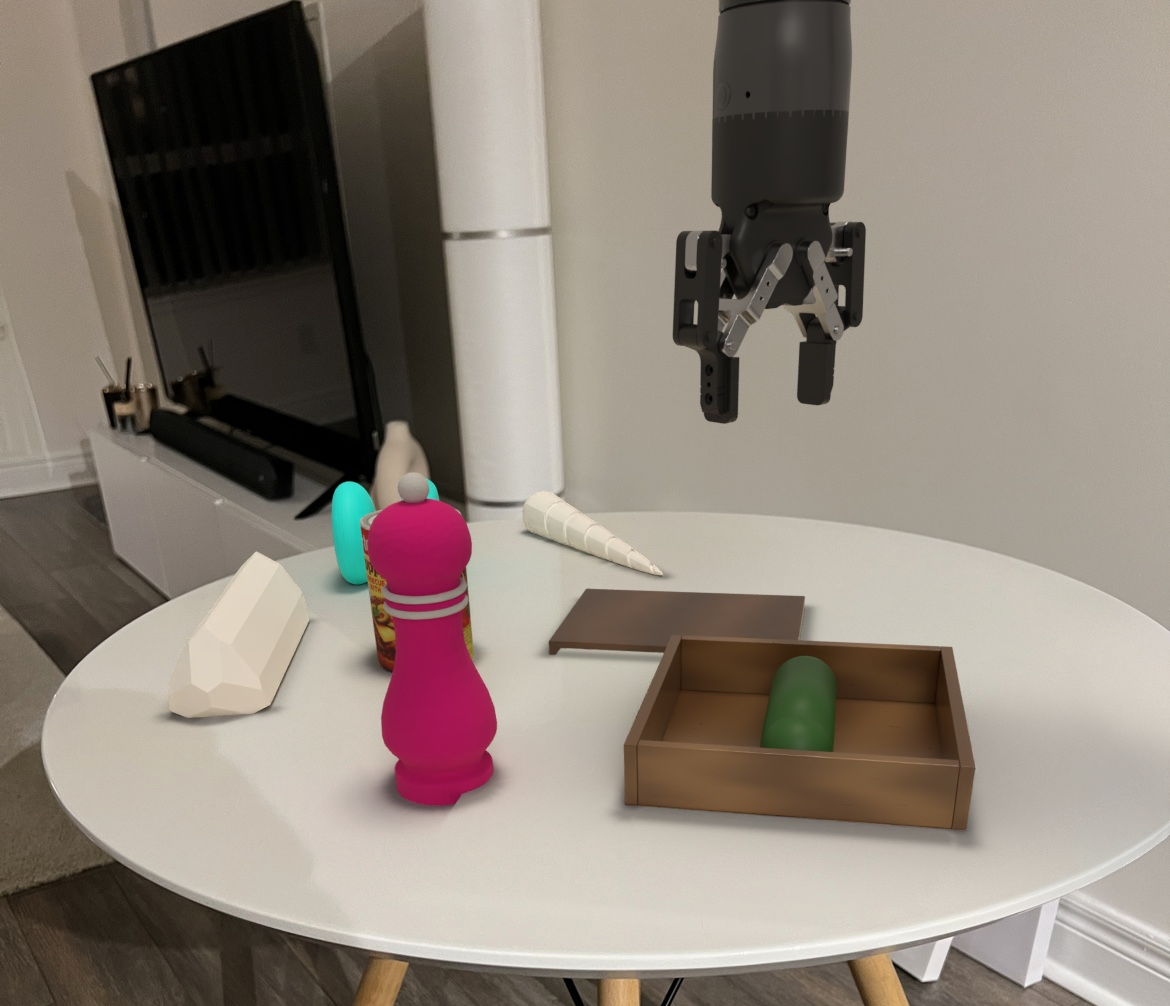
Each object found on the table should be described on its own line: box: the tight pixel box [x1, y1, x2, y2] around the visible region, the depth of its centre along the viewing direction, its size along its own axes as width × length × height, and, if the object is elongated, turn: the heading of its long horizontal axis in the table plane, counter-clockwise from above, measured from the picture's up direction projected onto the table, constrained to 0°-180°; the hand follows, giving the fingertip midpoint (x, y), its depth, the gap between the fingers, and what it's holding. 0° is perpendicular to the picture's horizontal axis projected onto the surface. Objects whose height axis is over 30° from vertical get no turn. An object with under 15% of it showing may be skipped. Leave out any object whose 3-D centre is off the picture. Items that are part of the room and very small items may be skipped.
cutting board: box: [548, 588, 806, 656], centre depth 94 cm, size 20×14×2 cm
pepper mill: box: [367, 471, 498, 807], centre depth 66 cm, size 7×7×20 cm
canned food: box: [360, 508, 475, 674], centre depth 88 cm, size 8×8×12 cm
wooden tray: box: [623, 635, 976, 832], centre depth 71 cm, size 20×19×5 cm
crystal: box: [167, 550, 311, 719], centre depth 90 cm, size 7×7×24 cm
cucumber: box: [760, 656, 837, 752], centre depth 71 cm, size 14×4×4 cm, turn 167°
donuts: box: [331, 478, 440, 586], centre depth 109 cm, size 10×10×10 cm
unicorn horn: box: [521, 490, 664, 576], centre depth 116 cm, size 5×24×5 cm, turn 30°
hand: (768, 412), depth 69 cm, fingers open, 8 cm apart
